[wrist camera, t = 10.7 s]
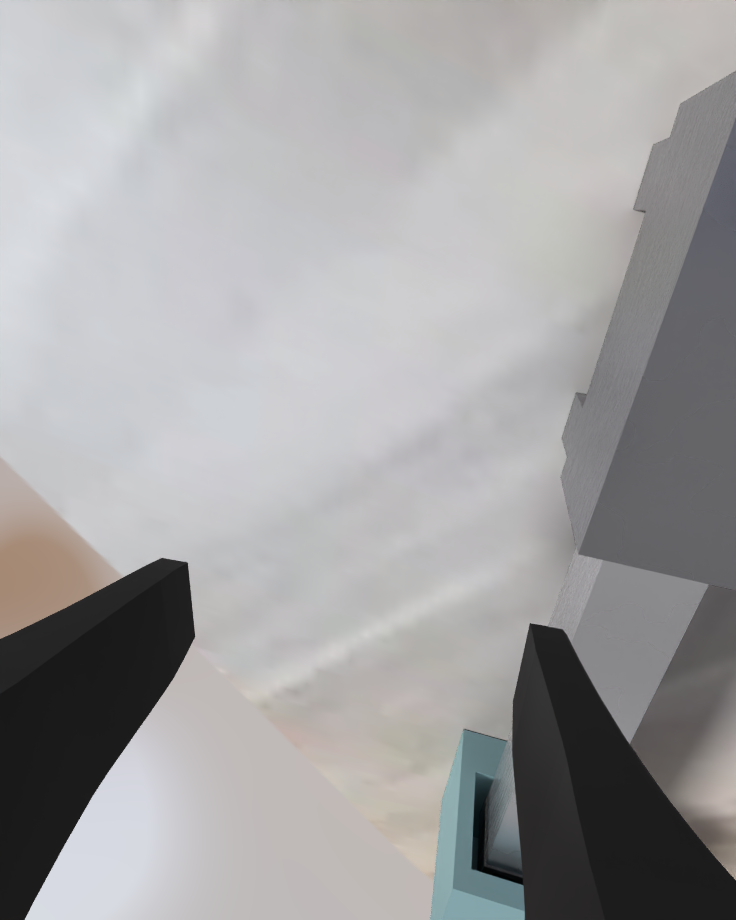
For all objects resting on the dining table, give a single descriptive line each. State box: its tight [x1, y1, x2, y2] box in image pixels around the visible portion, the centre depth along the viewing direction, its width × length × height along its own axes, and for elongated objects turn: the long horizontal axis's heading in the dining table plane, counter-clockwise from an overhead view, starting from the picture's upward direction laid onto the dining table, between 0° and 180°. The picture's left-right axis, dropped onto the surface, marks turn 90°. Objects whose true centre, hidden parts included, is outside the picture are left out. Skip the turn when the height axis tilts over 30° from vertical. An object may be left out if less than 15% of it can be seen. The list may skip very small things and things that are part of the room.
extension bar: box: [477, 547, 709, 885], centre depth 18 cm, size 3×17×3 cm, turn 172°
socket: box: [430, 730, 525, 920], centre depth 23 cm, size 5×5×6 cm
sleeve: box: [561, 71, 736, 590], centre depth 14 cm, size 4×10×6 cm, turn 172°
